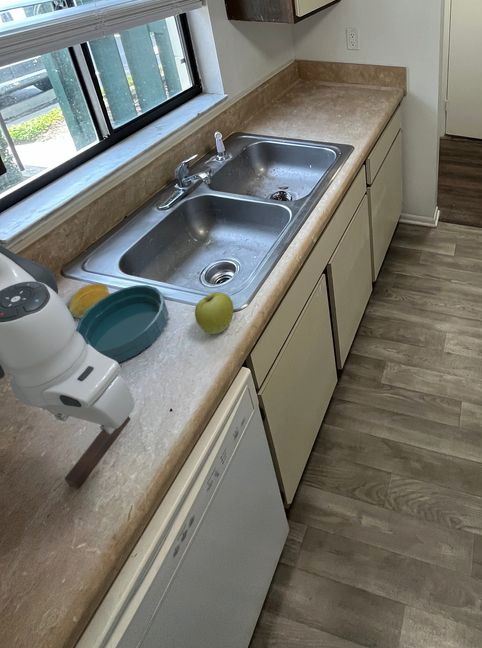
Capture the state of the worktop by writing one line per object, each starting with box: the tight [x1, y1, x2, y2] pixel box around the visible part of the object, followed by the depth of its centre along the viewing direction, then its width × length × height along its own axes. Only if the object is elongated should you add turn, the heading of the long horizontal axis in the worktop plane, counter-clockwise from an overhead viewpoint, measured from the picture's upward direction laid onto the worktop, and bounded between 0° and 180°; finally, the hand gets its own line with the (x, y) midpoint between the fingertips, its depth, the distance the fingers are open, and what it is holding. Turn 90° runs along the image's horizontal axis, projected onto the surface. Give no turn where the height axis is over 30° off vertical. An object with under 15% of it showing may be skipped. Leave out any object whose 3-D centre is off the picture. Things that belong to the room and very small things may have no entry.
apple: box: [194, 291, 234, 335], centre depth 100 cm, size 8×8×10 cm
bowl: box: [75, 284, 169, 363], centre depth 100 cm, size 17×17×5 cm
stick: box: [64, 415, 131, 489], centre depth 77 cm, size 11×2×4 cm, turn 167°
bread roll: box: [68, 283, 111, 320], centre depth 107 cm, size 8×9×4 cm
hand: (88, 422), depth 74 cm, fingers open, 8 cm apart
